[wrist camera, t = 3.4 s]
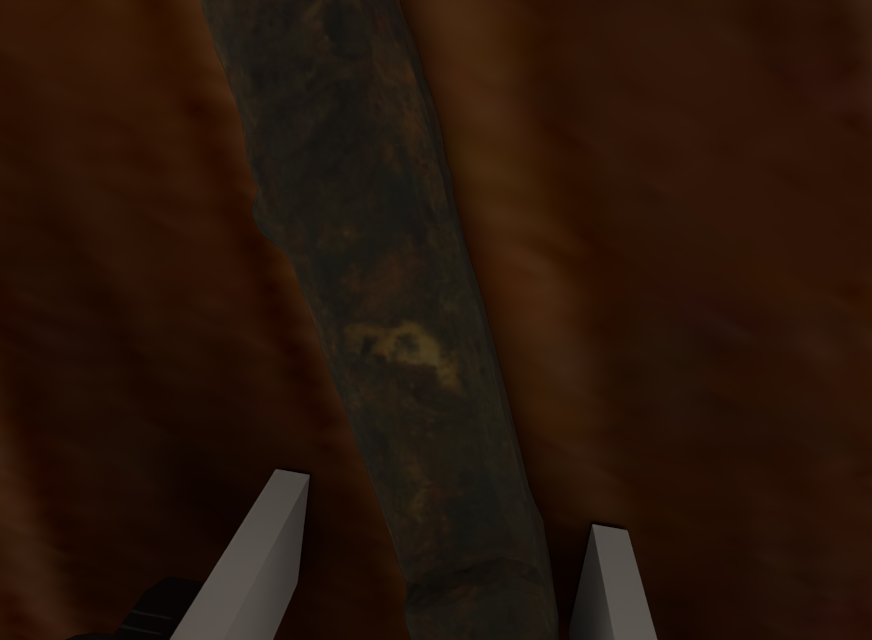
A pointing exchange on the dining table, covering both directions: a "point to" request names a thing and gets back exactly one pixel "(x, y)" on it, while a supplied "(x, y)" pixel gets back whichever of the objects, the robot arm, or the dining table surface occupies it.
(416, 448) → the hand tool
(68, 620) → the dining table surface
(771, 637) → the dining table surface
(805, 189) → the dining table surface
